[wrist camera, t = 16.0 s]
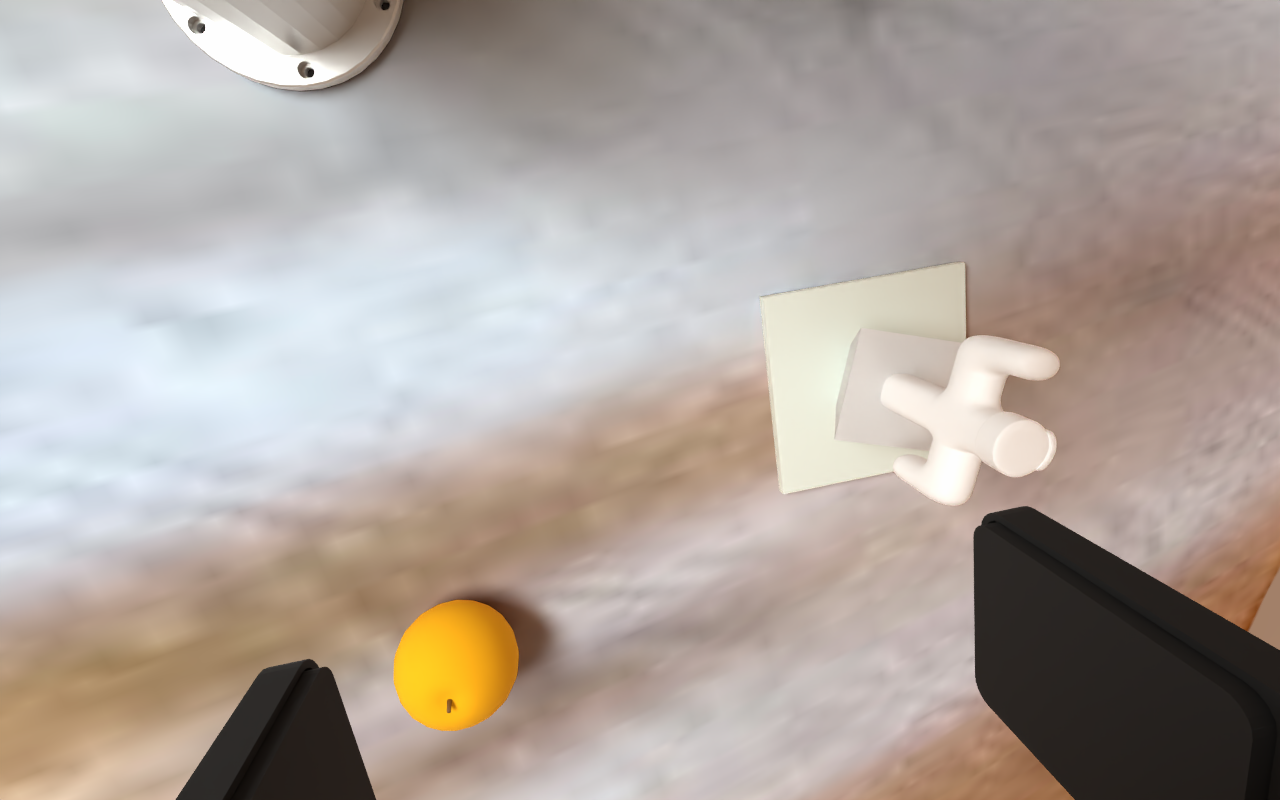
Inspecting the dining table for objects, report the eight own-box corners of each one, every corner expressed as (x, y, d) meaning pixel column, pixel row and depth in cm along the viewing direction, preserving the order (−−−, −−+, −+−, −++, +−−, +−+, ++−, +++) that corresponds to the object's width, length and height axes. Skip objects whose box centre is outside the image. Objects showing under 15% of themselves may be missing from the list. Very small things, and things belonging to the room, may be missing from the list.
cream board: (759, 296, 42) (763, 297, 41) (957, 261, 43) (965, 262, 42) (779, 489, 46) (783, 494, 45) (961, 452, 47) (967, 456, 46)
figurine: (808, 438, 44) (931, 538, 30) (839, 303, 42) (989, 340, 28) (902, 449, 45) (1065, 550, 31) (937, 318, 43) (1130, 362, 29)
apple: (516, 577, 45) (509, 642, 38) (525, 672, 47) (520, 752, 40) (399, 588, 44) (369, 658, 37) (413, 685, 46) (388, 769, 39)
